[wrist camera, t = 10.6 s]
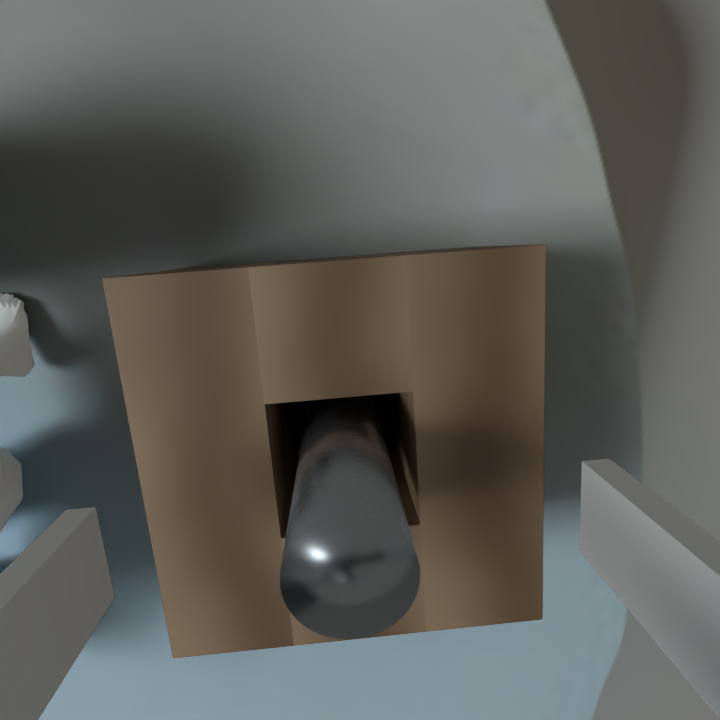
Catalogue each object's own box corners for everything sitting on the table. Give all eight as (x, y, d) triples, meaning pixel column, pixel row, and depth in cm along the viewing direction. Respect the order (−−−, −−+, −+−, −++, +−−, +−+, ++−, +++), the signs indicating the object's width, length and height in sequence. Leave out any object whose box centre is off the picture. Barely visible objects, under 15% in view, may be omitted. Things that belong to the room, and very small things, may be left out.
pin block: (220, 536, 26) (172, 658, 18) (180, 269, 23) (101, 278, 15) (480, 511, 27) (542, 619, 19) (474, 246, 24) (545, 244, 16)
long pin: (311, 431, 25) (287, 646, 11) (305, 371, 24) (272, 522, 11) (374, 426, 25) (423, 631, 12) (370, 365, 25) (417, 508, 11)
